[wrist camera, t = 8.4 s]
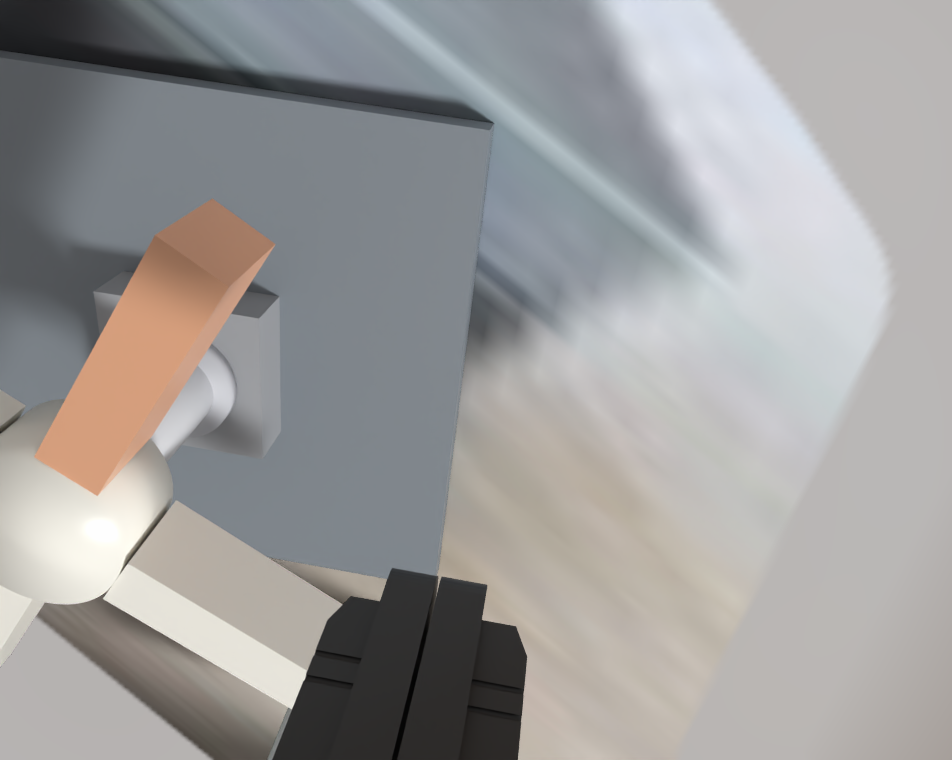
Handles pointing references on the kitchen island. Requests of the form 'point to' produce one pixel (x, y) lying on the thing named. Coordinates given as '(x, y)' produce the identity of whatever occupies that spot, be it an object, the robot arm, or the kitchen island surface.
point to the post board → (259, 292)
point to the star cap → (148, 479)
